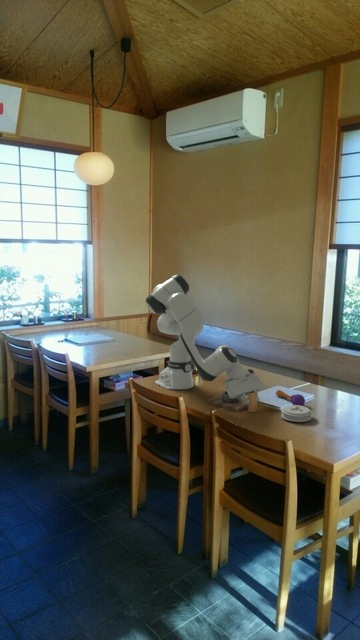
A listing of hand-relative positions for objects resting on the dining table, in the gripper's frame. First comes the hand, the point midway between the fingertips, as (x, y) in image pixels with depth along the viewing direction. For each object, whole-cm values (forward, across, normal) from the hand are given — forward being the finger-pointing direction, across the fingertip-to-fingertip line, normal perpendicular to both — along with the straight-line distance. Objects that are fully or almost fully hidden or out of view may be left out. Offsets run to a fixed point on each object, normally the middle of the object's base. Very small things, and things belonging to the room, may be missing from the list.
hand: (253, 401), depth 208 cm
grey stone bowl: (-8, 0, +12) cm, 15 cm away
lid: (+16, +7, -9) cm, 20 cm away
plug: (+3, 0, +4) cm, 4 cm away
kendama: (+5, +23, +2) cm, 24 cm away
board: (-7, 0, +13) cm, 14 cm away
